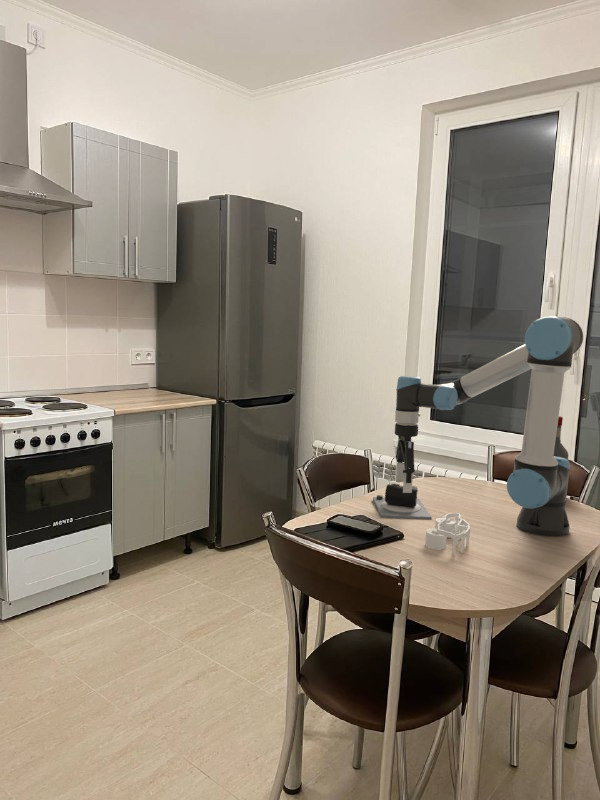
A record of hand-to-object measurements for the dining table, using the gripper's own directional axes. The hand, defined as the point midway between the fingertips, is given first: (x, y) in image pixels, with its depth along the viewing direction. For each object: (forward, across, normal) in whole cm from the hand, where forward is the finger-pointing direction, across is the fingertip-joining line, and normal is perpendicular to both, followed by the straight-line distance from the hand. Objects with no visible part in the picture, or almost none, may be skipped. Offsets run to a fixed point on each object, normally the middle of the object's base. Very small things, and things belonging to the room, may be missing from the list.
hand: (403, 486), depth 206 cm
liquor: (+9, +26, -61) cm, 67 cm away
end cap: (+7, 0, 0) cm, 7 cm away
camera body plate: (+8, 0, 0) cm, 8 cm away
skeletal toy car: (+9, -31, -8) cm, 33 cm away
